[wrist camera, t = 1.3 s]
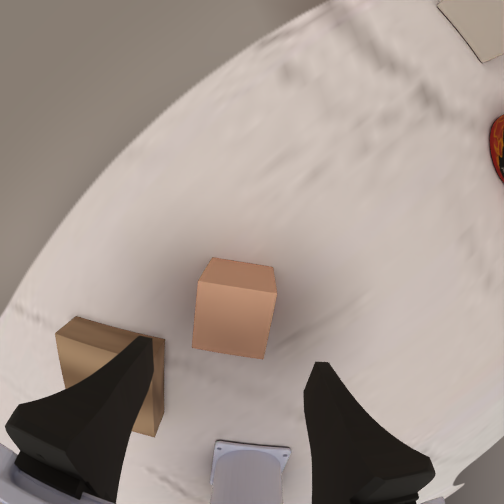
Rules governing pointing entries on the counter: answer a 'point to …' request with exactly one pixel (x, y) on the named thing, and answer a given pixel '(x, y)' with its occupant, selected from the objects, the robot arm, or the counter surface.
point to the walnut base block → (100, 353)
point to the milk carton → (478, 24)
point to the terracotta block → (234, 308)
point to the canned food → (498, 146)
